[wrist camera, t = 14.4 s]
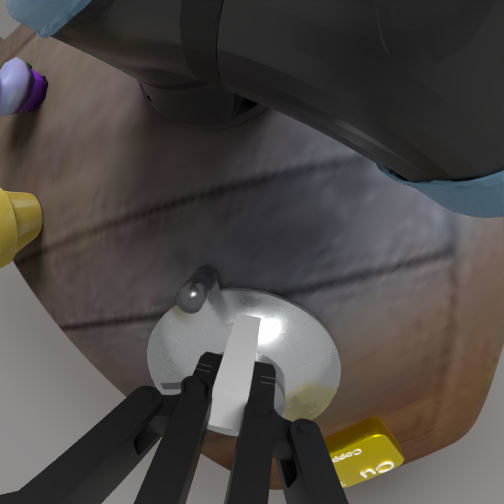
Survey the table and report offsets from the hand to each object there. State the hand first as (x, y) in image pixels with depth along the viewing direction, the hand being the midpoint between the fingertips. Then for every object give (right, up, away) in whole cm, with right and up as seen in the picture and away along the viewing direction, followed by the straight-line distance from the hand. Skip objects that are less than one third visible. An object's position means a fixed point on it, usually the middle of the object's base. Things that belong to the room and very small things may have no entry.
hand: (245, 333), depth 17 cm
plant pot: (-31, +10, +14) cm, 35 cm away
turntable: (-1, -9, +15) cm, 18 cm away
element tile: (+17, -29, +20) cm, 39 cm away
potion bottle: (-30, +27, +9) cm, 42 cm away
